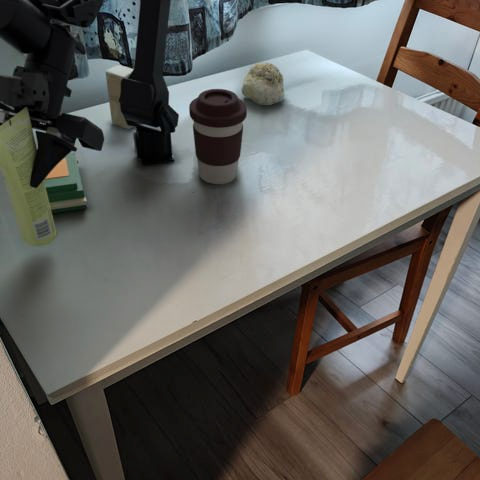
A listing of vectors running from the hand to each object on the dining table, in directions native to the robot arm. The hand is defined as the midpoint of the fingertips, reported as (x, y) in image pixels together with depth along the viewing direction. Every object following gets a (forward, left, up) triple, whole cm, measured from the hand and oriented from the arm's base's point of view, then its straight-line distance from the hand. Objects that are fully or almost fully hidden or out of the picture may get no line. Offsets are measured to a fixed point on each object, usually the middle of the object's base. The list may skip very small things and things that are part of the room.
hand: (19, 183), depth 72 cm
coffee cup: (-33, -16, -13) cm, 39 cm away
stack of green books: (-4, -18, -13) cm, 23 cm away
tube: (0, -2, -11) cm, 11 cm away
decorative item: (-53, -46, -13) cm, 72 cm away
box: (-20, -41, -13) cm, 48 cm away
